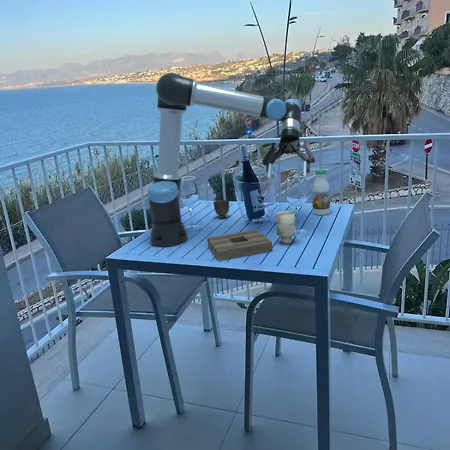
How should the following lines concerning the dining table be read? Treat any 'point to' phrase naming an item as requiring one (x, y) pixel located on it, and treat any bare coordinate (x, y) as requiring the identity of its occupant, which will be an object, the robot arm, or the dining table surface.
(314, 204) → the milk bottle
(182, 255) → the dining table surface
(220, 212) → the cup
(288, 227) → the ash peg
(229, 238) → the walnut board
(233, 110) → the robot arm
